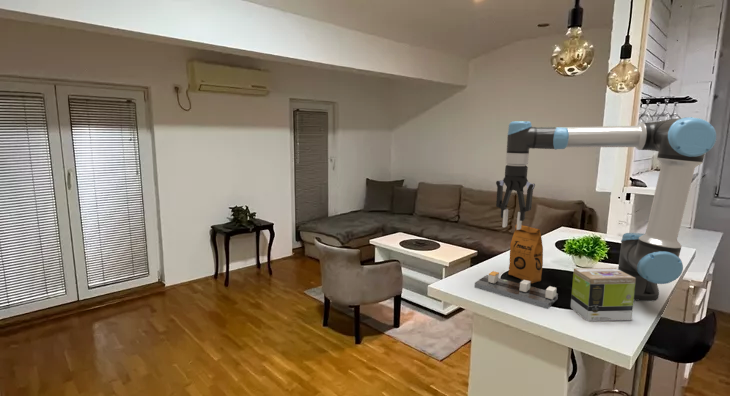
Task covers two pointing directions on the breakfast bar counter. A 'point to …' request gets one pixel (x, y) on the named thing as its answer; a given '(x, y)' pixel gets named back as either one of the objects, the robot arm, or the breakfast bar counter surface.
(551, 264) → the breakfast bar counter surface
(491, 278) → the block
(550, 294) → the block
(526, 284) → the block
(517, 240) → the coffee package
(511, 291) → the panel
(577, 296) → the tea box
